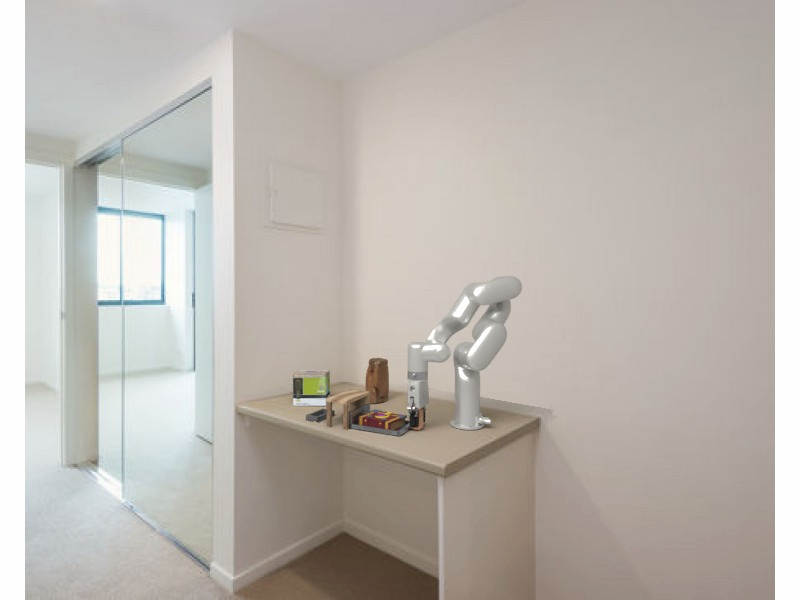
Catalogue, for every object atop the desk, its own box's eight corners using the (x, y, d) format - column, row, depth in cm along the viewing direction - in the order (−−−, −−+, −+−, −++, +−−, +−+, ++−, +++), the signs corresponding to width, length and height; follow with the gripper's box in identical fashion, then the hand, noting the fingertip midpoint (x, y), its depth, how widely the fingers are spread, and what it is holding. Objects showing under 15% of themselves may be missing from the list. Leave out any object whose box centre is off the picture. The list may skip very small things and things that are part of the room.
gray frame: (334, 415, 174) (334, 410, 174) (318, 422, 164) (318, 417, 164) (322, 413, 176) (322, 408, 176) (305, 420, 167) (305, 415, 167)
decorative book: (389, 435, 150) (389, 421, 150) (354, 427, 159) (354, 414, 159) (407, 427, 159) (407, 414, 159) (373, 420, 168) (373, 407, 168)
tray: (424, 426, 158) (424, 407, 158) (409, 437, 146) (409, 417, 146) (367, 418, 169) (367, 400, 169) (348, 427, 156) (348, 408, 156)
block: (378, 398, 203) (378, 356, 202) (390, 400, 198) (390, 358, 198) (363, 402, 194) (363, 359, 194) (375, 405, 189) (375, 360, 189)
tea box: (330, 401, 197) (330, 369, 197) (326, 406, 187) (326, 373, 187) (298, 400, 198) (298, 369, 198) (292, 406, 188) (292, 373, 187)
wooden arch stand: (369, 417, 170) (369, 391, 170) (346, 429, 155) (347, 401, 155) (350, 415, 174) (350, 389, 174) (326, 426, 159) (326, 398, 159)
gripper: (417, 380, 147) (417, 432, 147) (435, 372, 162) (435, 419, 162) (398, 379, 150) (398, 429, 150) (417, 371, 165) (417, 417, 166)
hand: (417, 424), depth 156 cm, fingers open, 6 cm apart
